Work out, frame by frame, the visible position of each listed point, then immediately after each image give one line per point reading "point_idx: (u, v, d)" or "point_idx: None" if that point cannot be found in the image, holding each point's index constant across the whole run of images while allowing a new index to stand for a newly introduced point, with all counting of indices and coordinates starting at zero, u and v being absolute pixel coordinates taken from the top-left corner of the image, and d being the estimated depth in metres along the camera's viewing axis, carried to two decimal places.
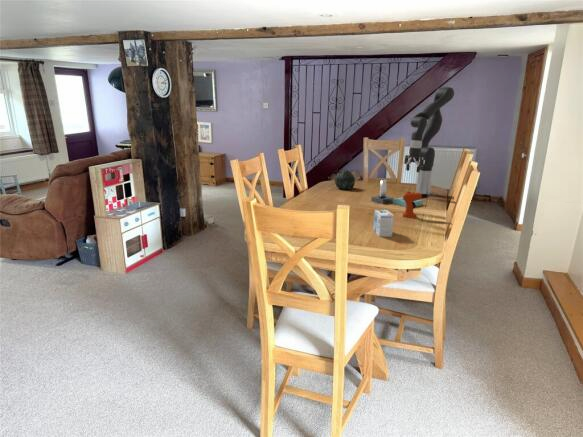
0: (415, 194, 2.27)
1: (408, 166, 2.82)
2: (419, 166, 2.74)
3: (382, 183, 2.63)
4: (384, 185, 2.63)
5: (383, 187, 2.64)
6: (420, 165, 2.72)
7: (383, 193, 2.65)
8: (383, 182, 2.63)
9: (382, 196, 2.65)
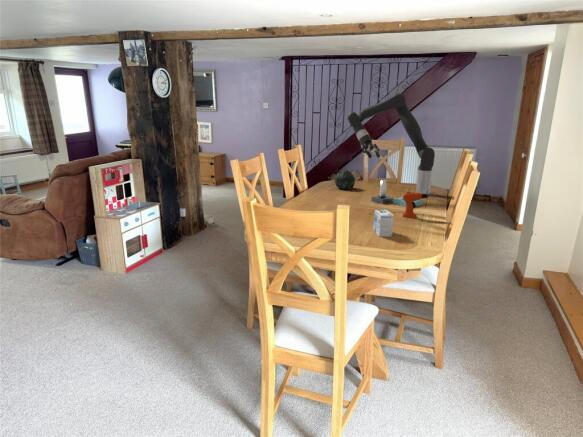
0: (415, 194, 2.27)
1: (376, 153, 2.74)
2: (366, 153, 2.69)
3: (382, 183, 2.63)
4: (384, 185, 2.63)
5: (383, 187, 2.64)
6: (363, 152, 2.69)
7: (383, 193, 2.65)
8: (383, 182, 2.63)
9: (382, 196, 2.65)
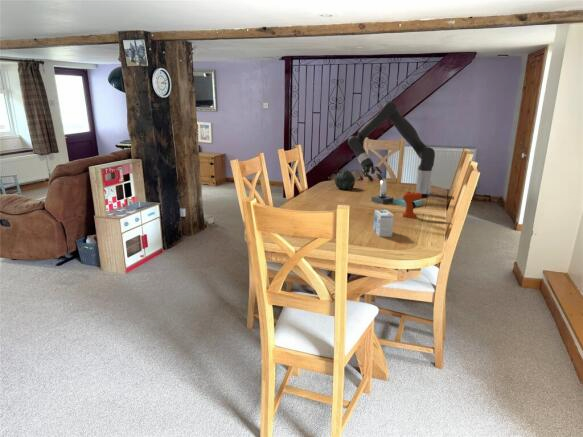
0: (415, 194, 2.27)
1: (378, 176, 2.72)
2: (367, 177, 2.68)
3: (382, 183, 2.63)
4: (384, 185, 2.63)
5: (383, 187, 2.64)
6: (365, 176, 2.68)
7: (383, 193, 2.65)
8: (383, 182, 2.63)
9: (382, 196, 2.65)
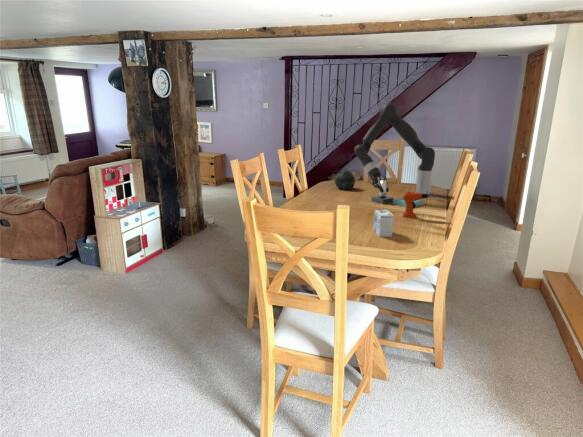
0: (415, 194, 2.27)
1: None
2: (378, 187, 2.64)
3: (382, 183, 2.63)
4: (384, 185, 2.63)
5: (383, 187, 2.64)
6: (375, 187, 2.65)
7: (383, 193, 2.65)
8: (383, 182, 2.63)
9: (382, 196, 2.65)
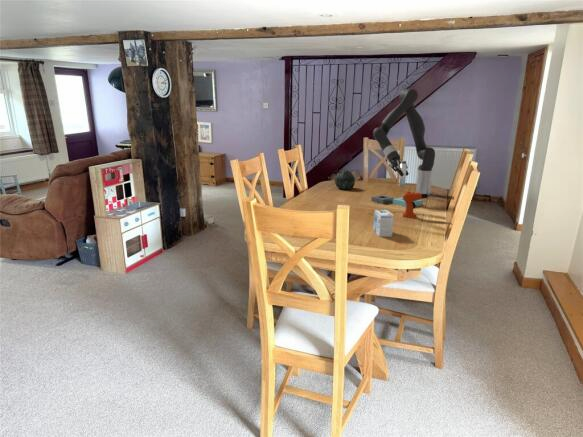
0: (415, 194, 2.27)
1: None
2: (397, 171, 2.57)
3: (402, 166, 2.56)
4: (404, 168, 2.56)
5: (403, 171, 2.56)
6: (395, 171, 2.57)
7: (403, 177, 2.57)
8: (403, 165, 2.55)
9: (402, 180, 2.58)
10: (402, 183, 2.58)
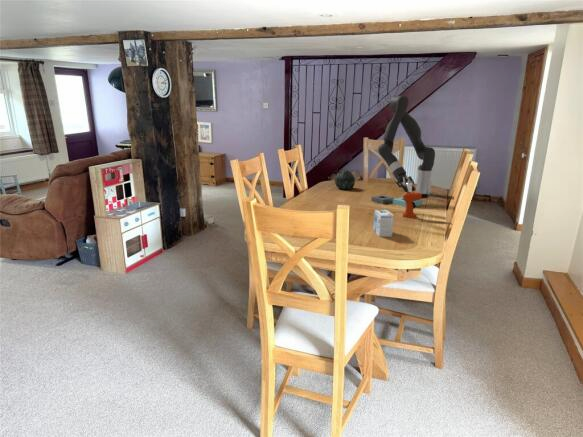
0: (415, 194, 2.27)
1: None
2: (402, 187, 2.57)
3: (407, 185, 2.57)
4: (409, 187, 2.57)
5: (408, 189, 2.57)
6: None
7: None
8: (409, 184, 2.56)
9: None
10: None
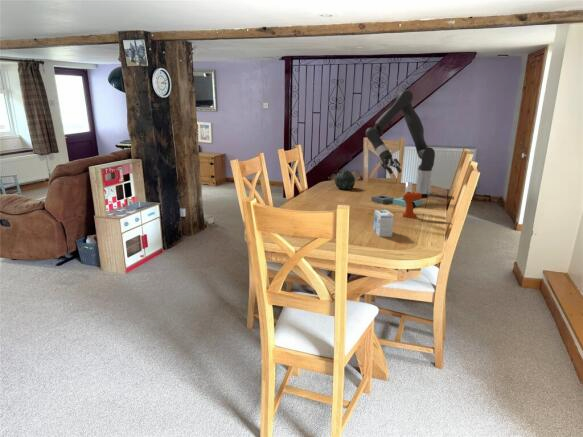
0: (415, 194, 2.27)
1: (397, 168, 2.69)
2: (386, 169, 2.64)
3: (408, 185, 2.57)
4: (410, 187, 2.57)
5: (409, 189, 2.57)
6: (384, 168, 2.64)
7: None
8: (409, 184, 2.56)
9: None
10: None
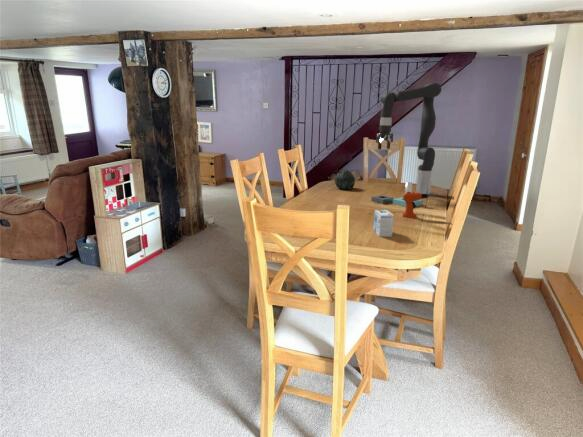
0: (415, 194, 2.27)
1: (388, 144, 2.80)
2: (378, 143, 2.75)
3: (407, 185, 2.57)
4: (409, 187, 2.57)
5: (408, 189, 2.57)
6: (376, 142, 2.74)
7: None
8: (408, 184, 2.56)
9: None
10: None
